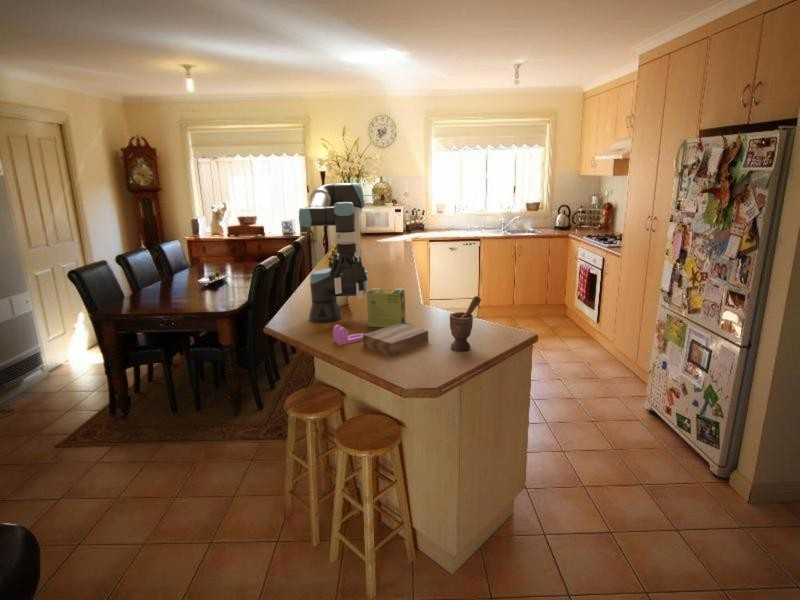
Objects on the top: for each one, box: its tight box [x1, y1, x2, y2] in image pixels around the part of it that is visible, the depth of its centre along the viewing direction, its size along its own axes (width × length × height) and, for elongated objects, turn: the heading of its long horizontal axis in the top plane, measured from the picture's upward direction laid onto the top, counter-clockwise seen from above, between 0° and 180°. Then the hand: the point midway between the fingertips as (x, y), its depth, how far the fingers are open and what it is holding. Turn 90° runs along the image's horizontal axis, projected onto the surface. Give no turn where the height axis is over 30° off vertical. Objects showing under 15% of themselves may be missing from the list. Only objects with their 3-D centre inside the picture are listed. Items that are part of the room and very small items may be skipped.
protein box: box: [366, 287, 407, 328], centre depth 212 cm, size 10×15×16 cm
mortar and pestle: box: [449, 295, 482, 352], centre depth 179 cm, size 12×9×20 cm
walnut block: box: [362, 323, 429, 357], centre depth 186 cm, size 16×20×5 cm
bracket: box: [332, 324, 365, 346], centre depth 193 cm, size 13×6×7 cm, turn 124°
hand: (349, 296), depth 189 cm, fingers open, 13 cm apart
